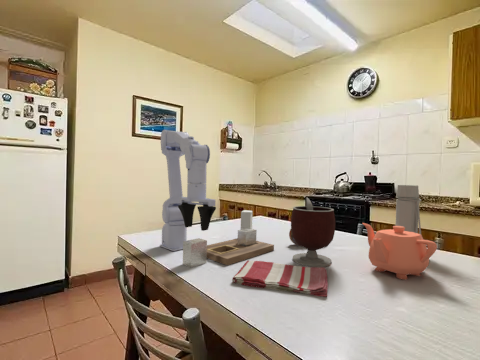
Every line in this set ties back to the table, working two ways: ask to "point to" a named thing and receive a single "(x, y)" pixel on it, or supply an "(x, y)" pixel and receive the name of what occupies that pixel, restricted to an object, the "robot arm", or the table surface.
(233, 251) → the board
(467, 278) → the table surface
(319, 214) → the mate gourd
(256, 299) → the table surface
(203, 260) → the block
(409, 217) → the water bottle
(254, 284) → the dish towel
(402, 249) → the teapot
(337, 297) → the table surface
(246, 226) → the skincare box
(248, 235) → the block
